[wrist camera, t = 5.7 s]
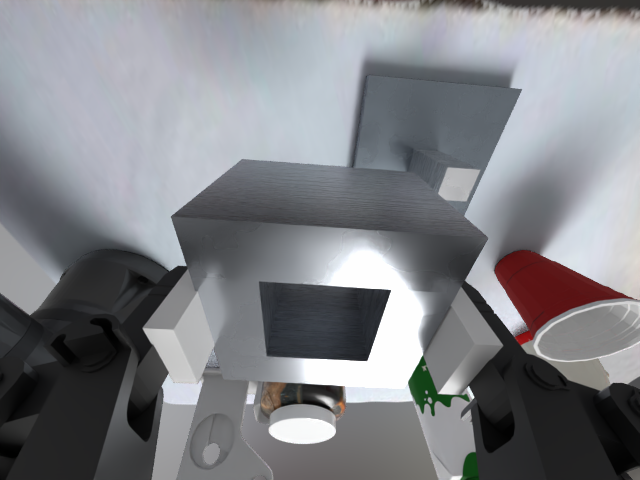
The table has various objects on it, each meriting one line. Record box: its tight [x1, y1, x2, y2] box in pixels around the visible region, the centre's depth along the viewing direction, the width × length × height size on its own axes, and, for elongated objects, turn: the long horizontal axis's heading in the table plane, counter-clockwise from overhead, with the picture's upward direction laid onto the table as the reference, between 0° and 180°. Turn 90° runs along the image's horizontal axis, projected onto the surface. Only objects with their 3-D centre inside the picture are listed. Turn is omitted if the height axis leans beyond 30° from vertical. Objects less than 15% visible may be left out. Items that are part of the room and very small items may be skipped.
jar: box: [260, 381, 346, 444], centre depth 34 cm, size 12×12×15 cm
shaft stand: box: [353, 75, 522, 216], centre depth 22 cm, size 14×14×8 cm
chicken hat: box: [515, 331, 610, 391], centre depth 39 cm, size 14×14×15 cm
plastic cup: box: [495, 250, 640, 362], centre depth 29 cm, size 11×11×12 cm
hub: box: [171, 159, 488, 389], centre depth 10 cm, size 8×8×6 cm
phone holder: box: [176, 367, 273, 480], centre depth 43 cm, size 17×10×18 cm, turn 86°
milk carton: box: [408, 356, 479, 480], centre depth 38 cm, size 9×9×20 cm
